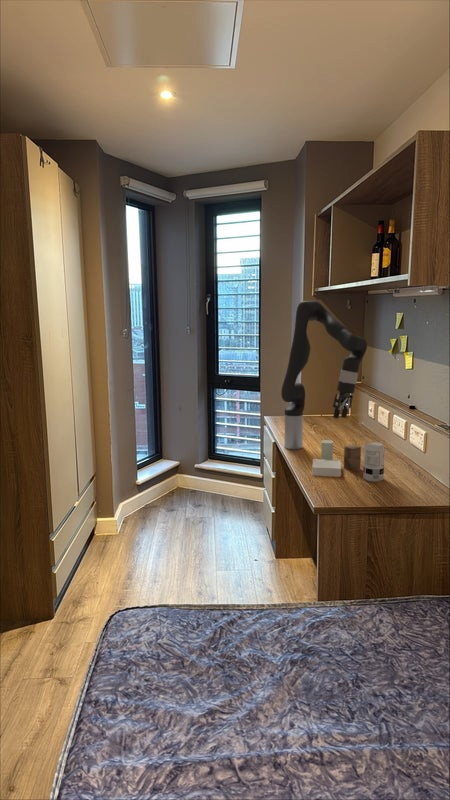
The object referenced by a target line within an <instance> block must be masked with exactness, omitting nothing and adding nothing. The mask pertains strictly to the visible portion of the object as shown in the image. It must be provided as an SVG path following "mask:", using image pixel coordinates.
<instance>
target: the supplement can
mask: <svg viewBox="0 0 450 800" xmlns="http://www.w3.org/2000/svg"><path fill="white" fill-rule="evenodd" d="M385 448H386V447H385V446H384V444H383V443H381V442H378V441H377V442H376V441H367V442H365V445H363V461H362V462H363V465H362V467H363V468H362V478H363V479H364V480H365V481H368V482H374V483H379V482H382V480H384V478H385V473H384V472H385V455H386V454H385V453H386V452H385V451H386V449H385Z"/></svg>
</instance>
